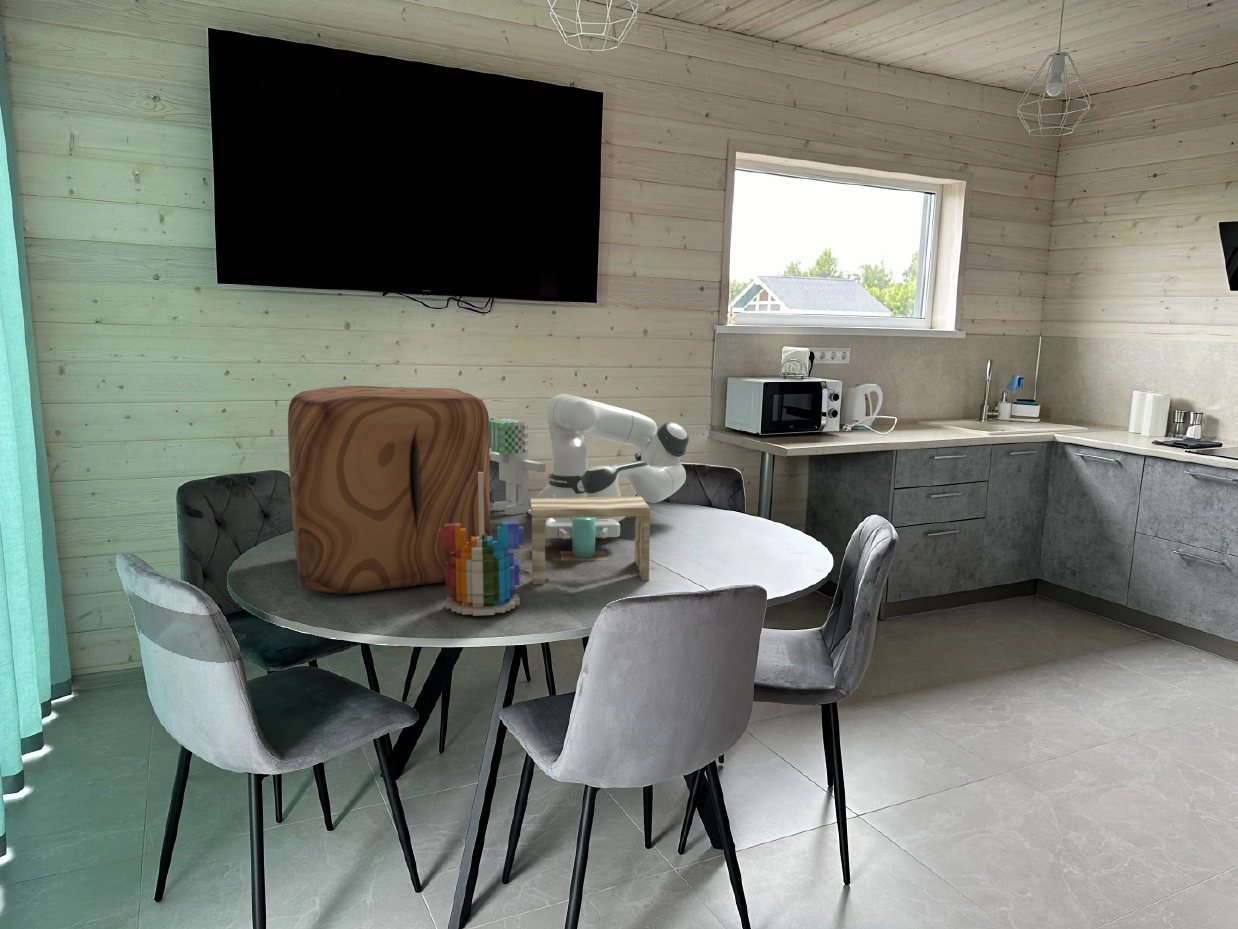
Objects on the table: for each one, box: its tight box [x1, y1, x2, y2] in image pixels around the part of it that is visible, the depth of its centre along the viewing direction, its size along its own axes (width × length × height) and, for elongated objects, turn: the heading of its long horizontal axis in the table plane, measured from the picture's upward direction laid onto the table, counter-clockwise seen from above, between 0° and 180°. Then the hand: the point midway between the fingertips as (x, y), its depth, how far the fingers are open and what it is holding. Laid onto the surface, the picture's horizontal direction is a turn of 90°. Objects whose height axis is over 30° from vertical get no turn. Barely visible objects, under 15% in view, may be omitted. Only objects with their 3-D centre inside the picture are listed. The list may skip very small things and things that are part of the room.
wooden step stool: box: [529, 496, 651, 585], centre depth 215 cm, size 14×28×18 cm, turn 97°
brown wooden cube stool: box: [287, 385, 491, 595], centre depth 216 cm, size 45×45×45 cm
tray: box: [559, 549, 609, 562], centre depth 231 cm, size 10×12×1 cm
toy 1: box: [439, 472, 525, 617], centre depth 188 cm, size 18×16×30 cm
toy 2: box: [489, 418, 546, 516], centre depth 285 cm, size 30×10×30 cm, turn 39°
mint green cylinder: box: [571, 517, 596, 558], centre depth 230 cm, size 6×6×10 cm
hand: (584, 535), depth 229 cm, fingers open, 8 cm apart
